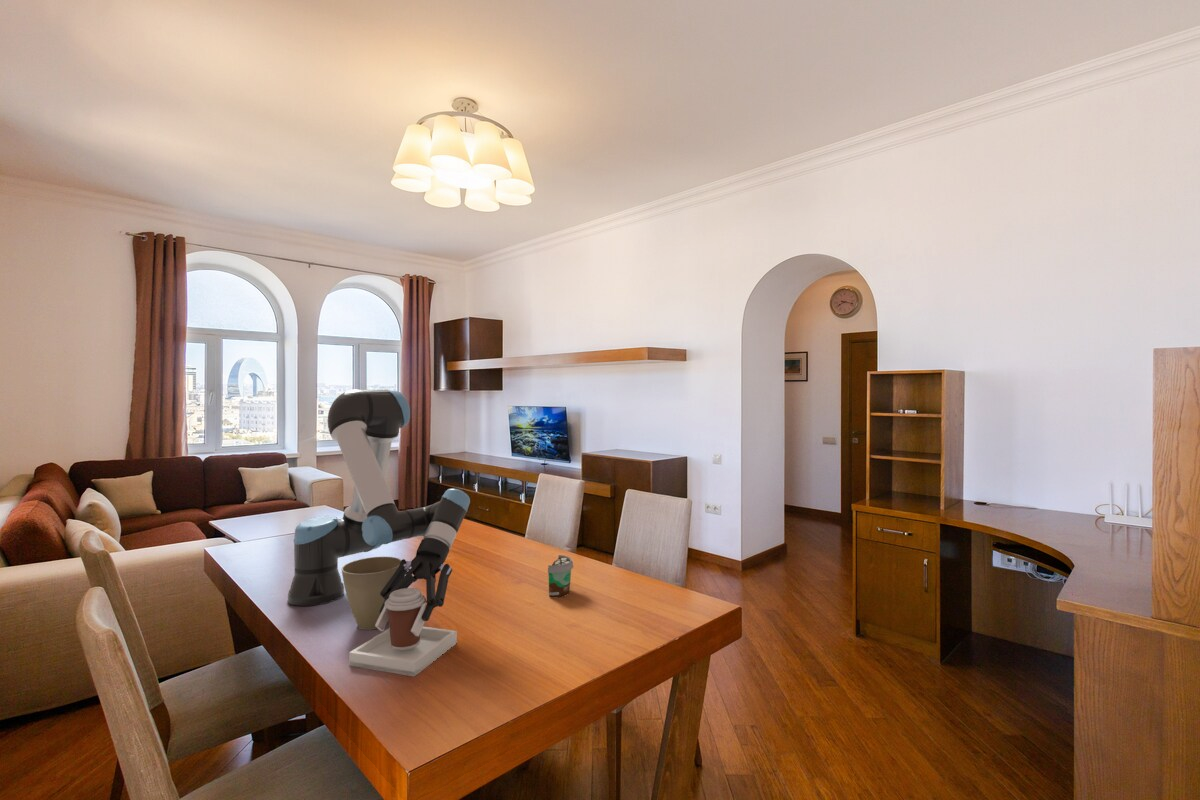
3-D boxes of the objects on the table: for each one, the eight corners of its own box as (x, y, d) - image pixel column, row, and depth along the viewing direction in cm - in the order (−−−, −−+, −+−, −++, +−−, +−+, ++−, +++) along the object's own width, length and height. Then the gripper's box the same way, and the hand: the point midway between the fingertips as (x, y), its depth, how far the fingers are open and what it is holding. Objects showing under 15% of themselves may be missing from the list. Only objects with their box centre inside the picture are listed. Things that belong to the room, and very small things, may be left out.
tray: (349, 665, 124) (349, 652, 124) (397, 634, 141) (397, 622, 141) (414, 676, 120) (414, 662, 120) (456, 643, 136) (456, 631, 136)
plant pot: (358, 613, 155) (358, 556, 155) (410, 613, 154) (410, 556, 154) (330, 636, 140) (330, 573, 140) (388, 637, 139) (388, 573, 139)
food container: (567, 600, 164) (567, 567, 164) (547, 599, 165) (547, 565, 165) (577, 586, 176) (577, 555, 176) (559, 585, 178) (559, 554, 178)
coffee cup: (425, 649, 127) (425, 597, 127) (382, 655, 125) (382, 601, 124) (426, 633, 136) (426, 584, 136) (386, 638, 133) (386, 588, 133)
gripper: (479, 555, 142) (444, 643, 126) (406, 548, 148) (365, 632, 133) (468, 539, 137) (430, 630, 121) (393, 533, 143) (349, 618, 128)
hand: (396, 631), depth 127 cm, fingers closed on coffee cup, 9 cm apart
